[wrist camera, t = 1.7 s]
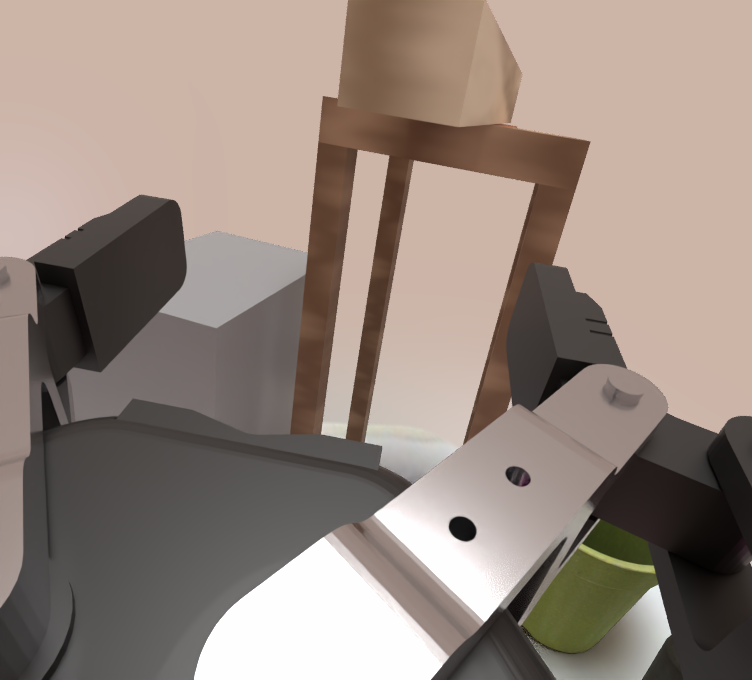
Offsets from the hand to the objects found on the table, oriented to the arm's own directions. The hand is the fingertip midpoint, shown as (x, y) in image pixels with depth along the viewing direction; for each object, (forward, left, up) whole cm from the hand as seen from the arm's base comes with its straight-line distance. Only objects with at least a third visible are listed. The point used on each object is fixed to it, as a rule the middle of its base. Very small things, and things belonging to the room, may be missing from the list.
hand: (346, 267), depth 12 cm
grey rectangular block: (-13, +14, -29) cm, 34 cm away
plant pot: (+13, +19, -29) cm, 37 cm away
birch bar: (-1, +16, +3) cm, 17 cm away
